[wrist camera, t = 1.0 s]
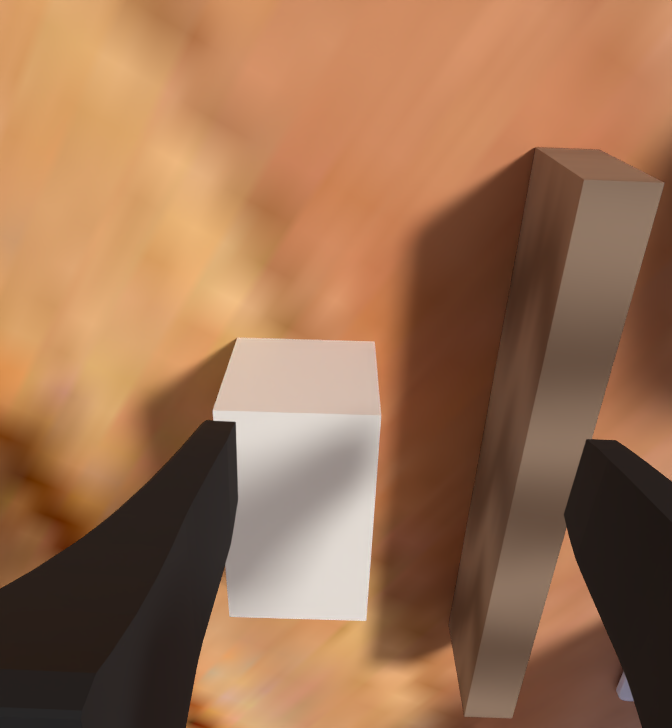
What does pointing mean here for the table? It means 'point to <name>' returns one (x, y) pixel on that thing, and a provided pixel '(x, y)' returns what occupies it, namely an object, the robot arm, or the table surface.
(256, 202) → the table surface
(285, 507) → the block
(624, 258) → the board
